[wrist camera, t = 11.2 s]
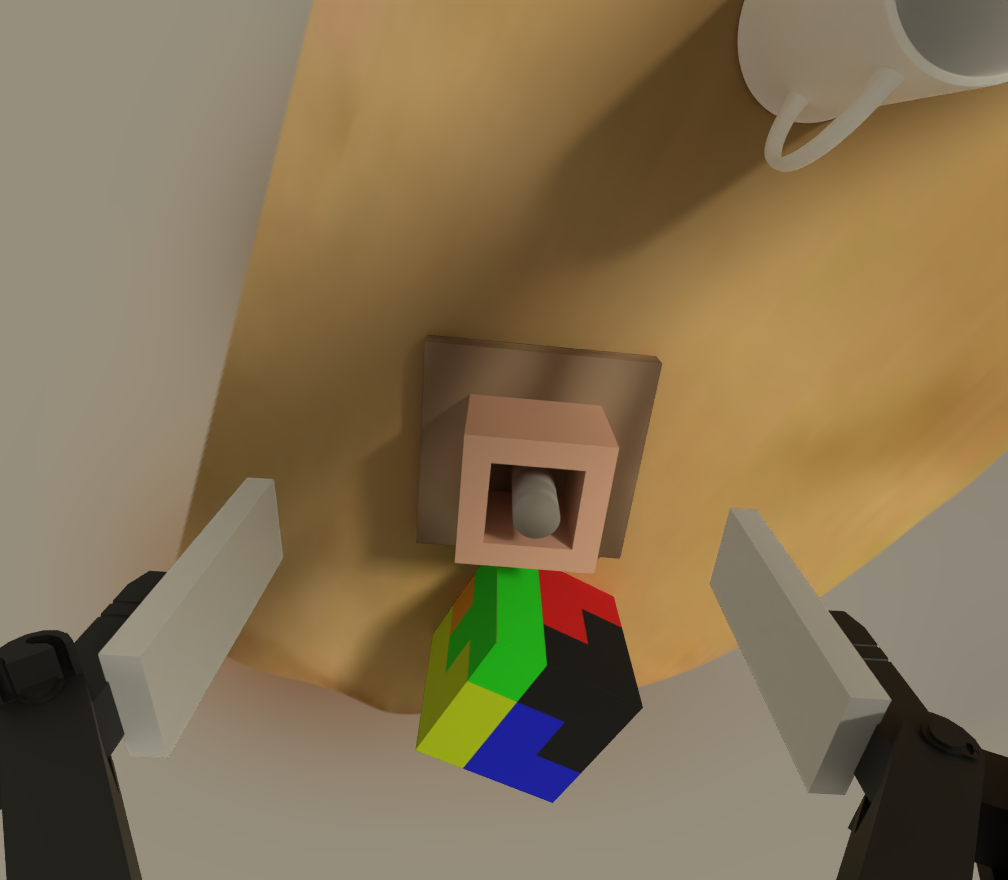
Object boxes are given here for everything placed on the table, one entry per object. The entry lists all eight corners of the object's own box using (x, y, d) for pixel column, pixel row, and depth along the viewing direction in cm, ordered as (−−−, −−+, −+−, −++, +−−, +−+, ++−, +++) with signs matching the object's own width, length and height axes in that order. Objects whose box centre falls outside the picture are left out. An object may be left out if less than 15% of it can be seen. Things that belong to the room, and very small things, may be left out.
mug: (770, 211, 32) (906, 231, 22) (656, 107, 30) (742, 71, 19) (949, 2, 28) (1228, -104, 18) (832, -134, 26) (1065, -350, 15)
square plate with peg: (656, 356, 36) (698, 406, 28) (616, 545, 42) (642, 630, 34) (427, 334, 35) (406, 380, 28) (419, 530, 41) (400, 613, 33)
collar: (601, 405, 36) (619, 447, 30) (581, 517, 39) (594, 573, 33) (470, 393, 35) (464, 434, 30) (461, 507, 39) (454, 562, 33)
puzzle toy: (542, 681, 47) (552, 803, 38) (433, 633, 45) (415, 750, 36) (613, 596, 44) (642, 707, 35) (497, 539, 42) (496, 642, 32)
